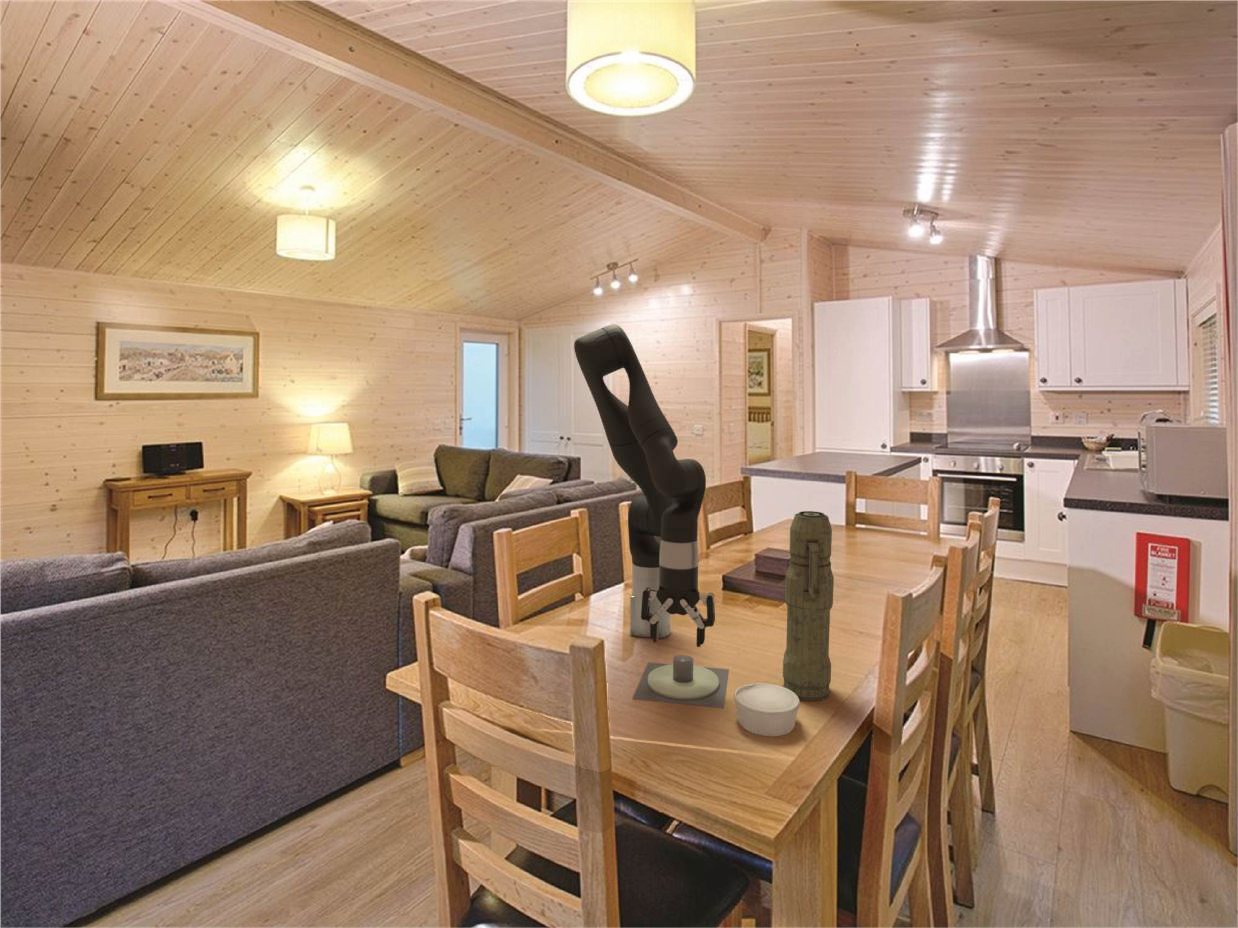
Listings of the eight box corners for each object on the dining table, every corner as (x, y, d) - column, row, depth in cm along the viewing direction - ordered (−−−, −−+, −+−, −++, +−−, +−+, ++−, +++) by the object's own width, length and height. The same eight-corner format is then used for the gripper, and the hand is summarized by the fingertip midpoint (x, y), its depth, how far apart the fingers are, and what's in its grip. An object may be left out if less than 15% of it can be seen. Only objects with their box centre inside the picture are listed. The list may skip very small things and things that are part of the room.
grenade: (821, 677, 132) (826, 507, 128) (837, 705, 120) (844, 519, 116) (777, 676, 132) (781, 507, 129) (789, 704, 121) (794, 519, 117)
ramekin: (752, 703, 121) (752, 676, 121) (809, 722, 114) (810, 694, 114) (721, 727, 113) (722, 698, 112) (781, 749, 106) (782, 718, 105)
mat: (632, 701, 122) (632, 698, 122) (648, 664, 139) (648, 662, 139) (723, 710, 119) (723, 707, 118) (728, 671, 135) (728, 669, 135)
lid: (641, 695, 123) (641, 670, 123) (653, 665, 137) (653, 642, 136) (716, 702, 120) (716, 677, 120) (720, 671, 134) (721, 648, 133)
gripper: (638, 564, 124) (637, 646, 126) (713, 569, 120) (711, 654, 122) (646, 555, 131) (645, 633, 133) (717, 560, 128) (715, 640, 129)
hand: (677, 643), depth 127 cm, fingers open, 8 cm apart
